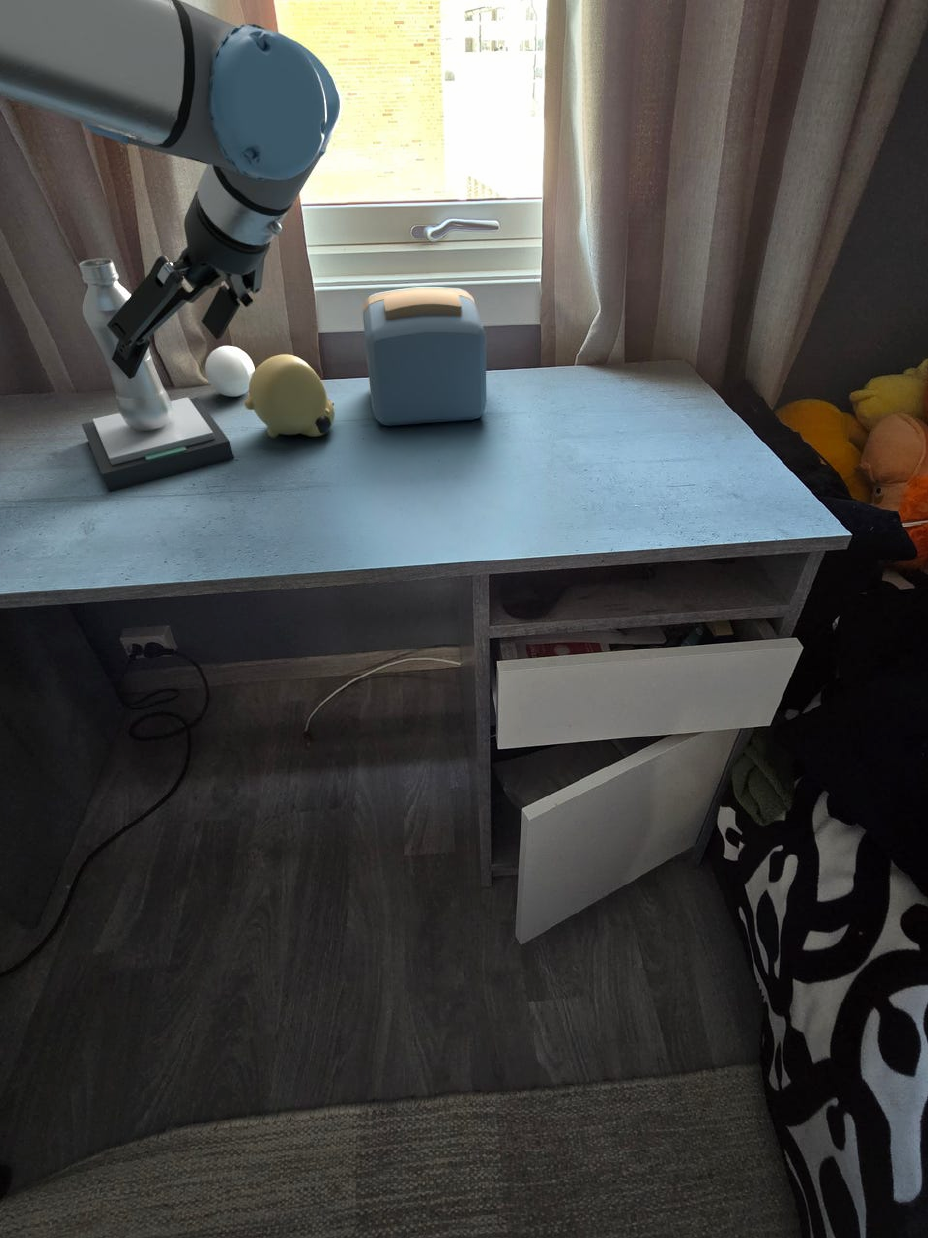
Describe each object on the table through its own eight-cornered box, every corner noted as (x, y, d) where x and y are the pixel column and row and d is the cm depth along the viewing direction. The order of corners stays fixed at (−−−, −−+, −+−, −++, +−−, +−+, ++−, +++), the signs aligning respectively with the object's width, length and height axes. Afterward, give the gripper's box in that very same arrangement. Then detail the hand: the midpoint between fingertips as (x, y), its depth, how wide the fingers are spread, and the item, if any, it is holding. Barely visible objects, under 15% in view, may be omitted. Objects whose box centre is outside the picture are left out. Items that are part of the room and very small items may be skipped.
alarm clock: (472, 377, 111) (471, 270, 100) (488, 422, 99) (489, 306, 88) (370, 384, 109) (359, 277, 99) (374, 431, 97) (362, 314, 87)
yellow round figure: (298, 469, 97) (348, 421, 92) (225, 412, 91) (274, 357, 86) (307, 434, 104) (354, 388, 99) (240, 379, 98) (286, 327, 93)
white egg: (256, 403, 105) (245, 355, 100) (207, 405, 105) (193, 357, 100) (267, 377, 112) (257, 331, 107) (221, 378, 112) (209, 332, 107)
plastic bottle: (149, 441, 89) (90, 273, 75) (115, 429, 91) (52, 265, 78) (187, 421, 93) (138, 259, 79) (154, 410, 95) (101, 252, 82)
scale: (108, 491, 86) (98, 466, 84) (88, 440, 97) (78, 417, 94) (234, 458, 92) (227, 433, 90) (202, 413, 103) (195, 390, 100)
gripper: (163, 284, 58) (106, 415, 74) (340, 221, 74) (262, 339, 90) (98, 206, 57) (53, 357, 72) (293, 159, 73) (222, 291, 88)
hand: (169, 347), depth 81 cm, fingers open, 13 cm apart
